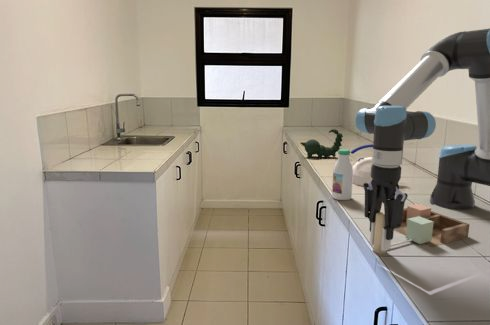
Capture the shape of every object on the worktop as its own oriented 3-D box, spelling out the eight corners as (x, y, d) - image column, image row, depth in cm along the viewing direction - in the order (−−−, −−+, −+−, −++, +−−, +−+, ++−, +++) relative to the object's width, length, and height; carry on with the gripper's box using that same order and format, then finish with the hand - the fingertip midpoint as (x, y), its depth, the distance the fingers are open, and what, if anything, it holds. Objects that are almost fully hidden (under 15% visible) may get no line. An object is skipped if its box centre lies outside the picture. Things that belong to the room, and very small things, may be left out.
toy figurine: (338, 158, 238) (298, 154, 240) (342, 129, 233) (302, 125, 236) (339, 162, 229) (298, 157, 231) (344, 131, 224) (302, 126, 227)
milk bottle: (348, 194, 158) (350, 148, 154) (353, 200, 151) (356, 151, 147) (329, 195, 158) (332, 148, 154) (334, 201, 151) (337, 151, 146)
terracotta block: (416, 220, 128) (418, 203, 127) (429, 225, 124) (431, 208, 122) (406, 222, 126) (407, 205, 124) (418, 228, 121) (420, 210, 120)
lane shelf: (415, 218, 131) (416, 205, 130) (467, 238, 115) (469, 224, 114) (381, 226, 124) (382, 213, 123) (432, 249, 108) (433, 234, 107)
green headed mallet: (416, 236, 115) (420, 202, 113) (431, 242, 111) (435, 207, 109) (368, 249, 107) (371, 212, 105) (381, 256, 103) (385, 218, 100)
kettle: (398, 189, 167) (401, 148, 163) (349, 186, 171) (352, 147, 167) (390, 177, 186) (393, 141, 182) (347, 175, 190) (349, 140, 186)
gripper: (353, 160, 106) (349, 238, 111) (401, 172, 91) (393, 261, 96) (373, 157, 109) (368, 233, 114) (422, 169, 95) (414, 255, 100)
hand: (379, 246), depth 105 cm, fingers closed on green headed mallet, 3 cm apart
